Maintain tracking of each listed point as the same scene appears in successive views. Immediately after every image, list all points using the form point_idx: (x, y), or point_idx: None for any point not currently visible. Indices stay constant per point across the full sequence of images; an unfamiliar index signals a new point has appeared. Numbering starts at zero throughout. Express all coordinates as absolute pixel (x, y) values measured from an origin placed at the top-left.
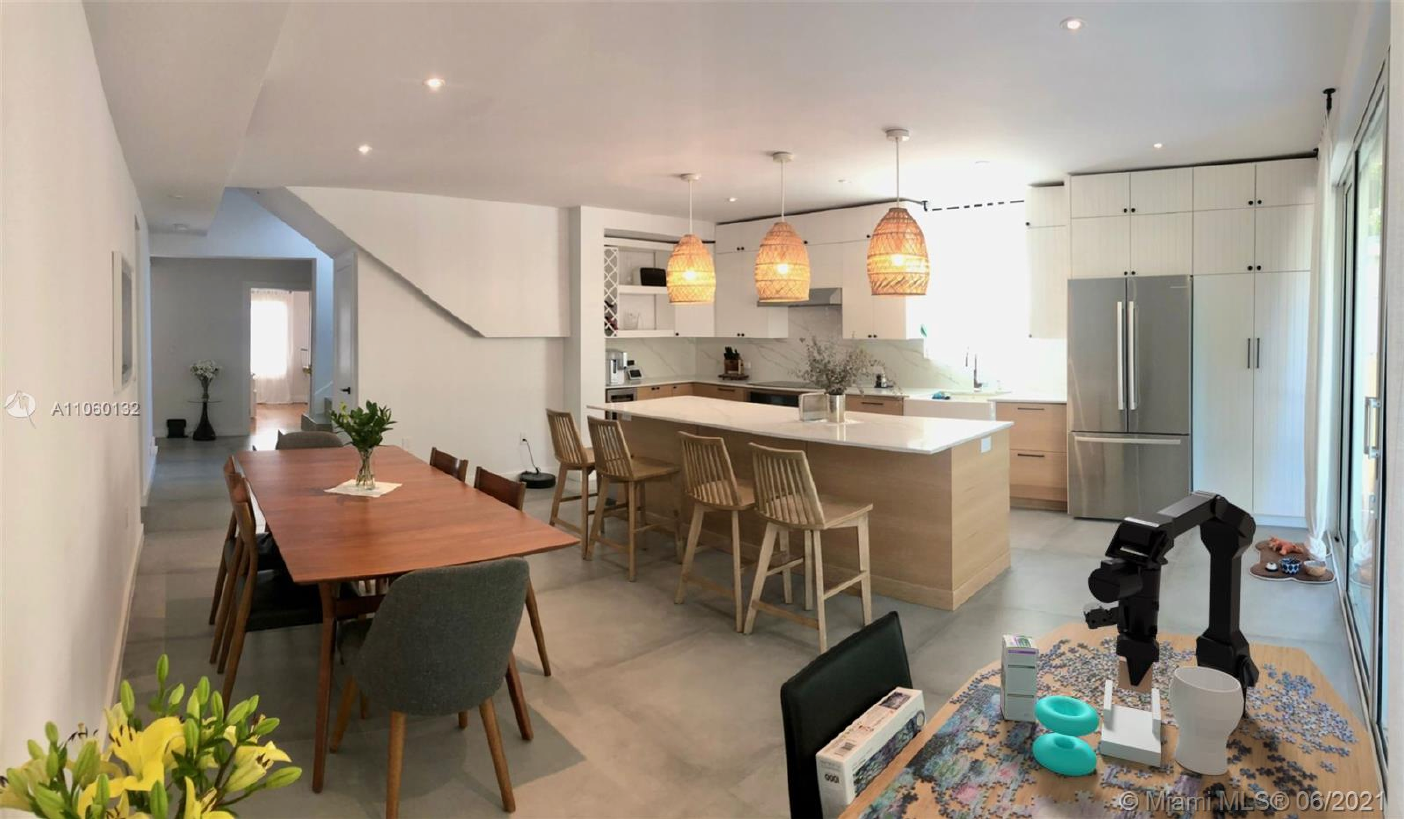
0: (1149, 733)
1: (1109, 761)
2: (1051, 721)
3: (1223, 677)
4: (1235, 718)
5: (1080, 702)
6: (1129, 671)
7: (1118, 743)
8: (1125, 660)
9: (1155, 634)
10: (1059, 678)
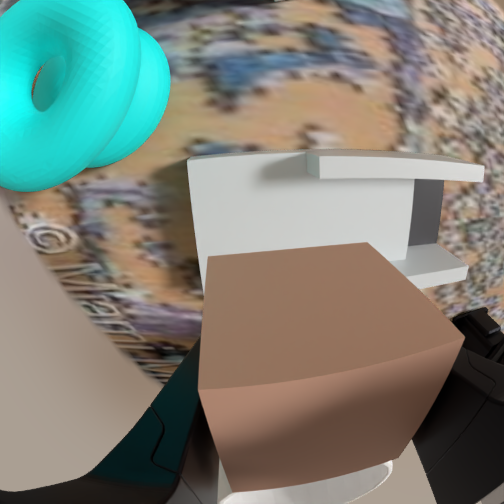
0: None
1: (166, 181)
2: None
3: (358, 486)
4: None
5: (72, 103)
6: (162, 394)
7: (193, 204)
8: (223, 420)
9: (477, 502)
10: (493, 79)
